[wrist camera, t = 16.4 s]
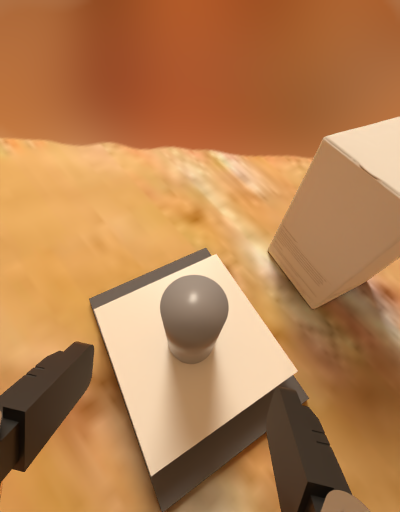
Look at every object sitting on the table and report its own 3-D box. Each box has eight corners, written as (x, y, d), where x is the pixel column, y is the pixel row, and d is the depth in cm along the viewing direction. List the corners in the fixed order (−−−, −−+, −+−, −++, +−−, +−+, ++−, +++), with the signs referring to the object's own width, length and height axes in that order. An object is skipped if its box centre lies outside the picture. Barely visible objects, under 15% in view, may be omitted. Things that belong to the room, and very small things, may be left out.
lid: (286, 374, 22) (356, 351, 13) (155, 468, 18) (126, 527, 9) (213, 265, 28) (227, 198, 19) (101, 318, 24) (52, 264, 15)
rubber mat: (306, 398, 21) (309, 398, 21) (162, 509, 17) (162, 512, 17) (205, 250, 29) (205, 247, 29) (90, 301, 25) (89, 298, 25)
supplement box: (369, 281, 28) (517, 180, 16) (311, 312, 26) (431, 220, 13) (318, 226, 33) (403, 112, 20) (264, 248, 30) (322, 133, 18)
